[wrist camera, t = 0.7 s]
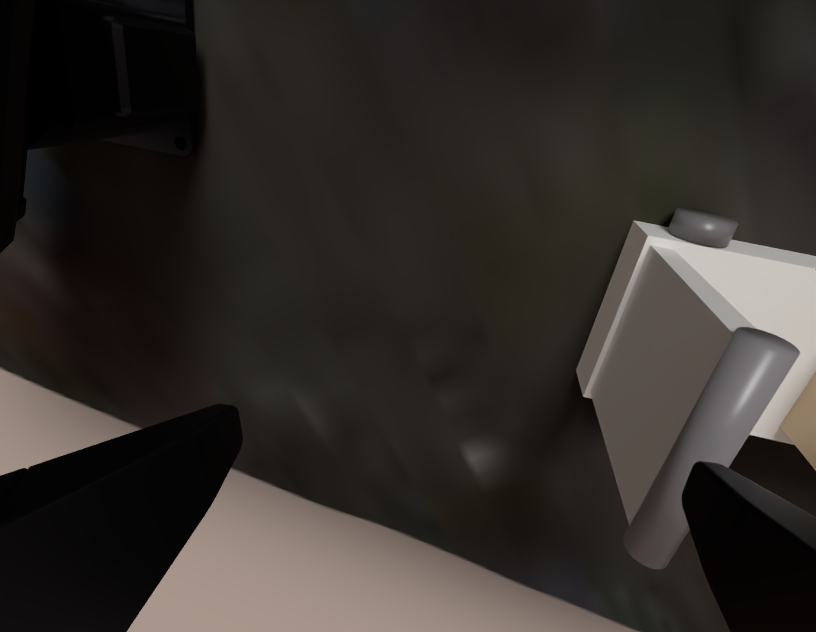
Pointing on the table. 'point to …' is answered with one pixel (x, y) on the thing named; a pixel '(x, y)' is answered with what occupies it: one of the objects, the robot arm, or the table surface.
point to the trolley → (697, 363)
